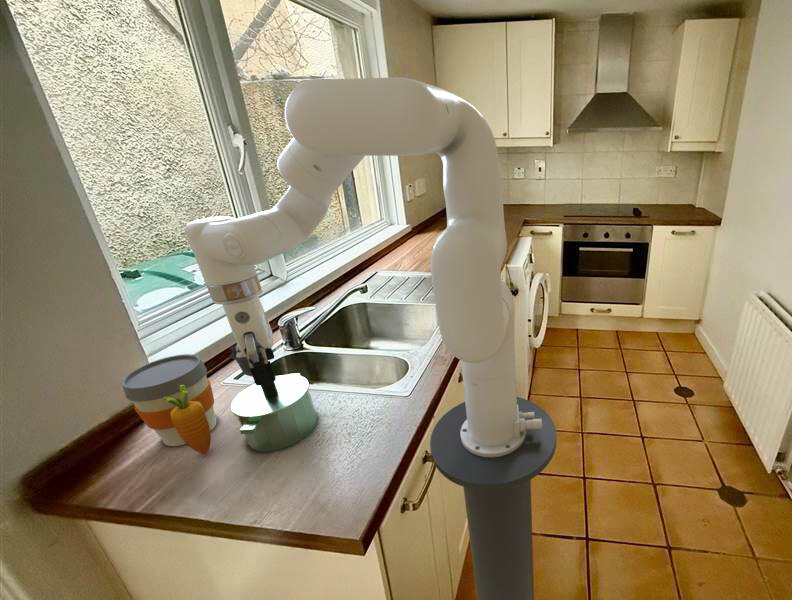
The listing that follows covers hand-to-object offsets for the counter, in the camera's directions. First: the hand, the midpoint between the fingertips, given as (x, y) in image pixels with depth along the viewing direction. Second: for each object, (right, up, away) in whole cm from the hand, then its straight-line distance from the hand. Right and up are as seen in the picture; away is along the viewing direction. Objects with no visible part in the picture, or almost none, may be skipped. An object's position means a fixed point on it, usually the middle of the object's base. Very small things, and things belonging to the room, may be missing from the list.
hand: (266, 370), depth 75 cm
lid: (0, -5, +2) cm, 6 cm away
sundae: (-14, -8, +20) cm, 26 cm away
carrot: (-12, -16, 0) cm, 20 cm away
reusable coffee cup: (-20, -14, +7) cm, 25 cm away
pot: (0, -13, +6) cm, 14 cm away
